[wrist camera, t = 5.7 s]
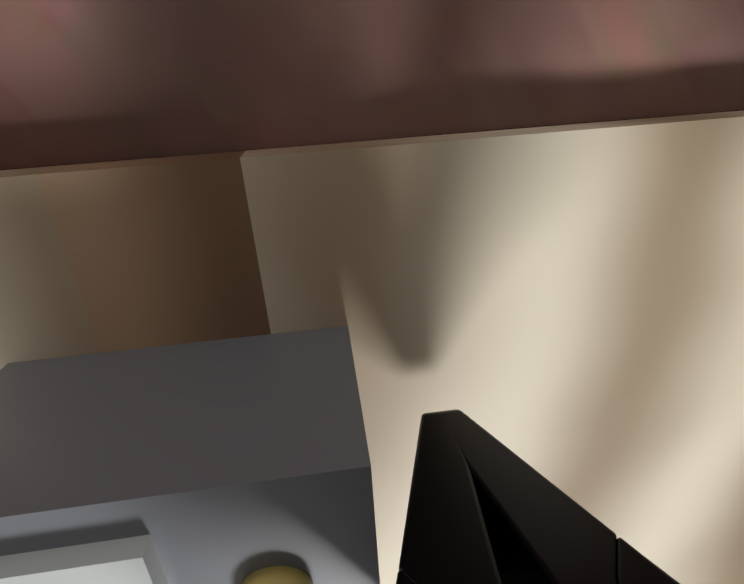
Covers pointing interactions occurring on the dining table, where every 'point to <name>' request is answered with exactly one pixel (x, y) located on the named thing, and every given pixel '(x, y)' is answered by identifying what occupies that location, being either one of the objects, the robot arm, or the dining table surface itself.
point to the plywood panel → (443, 298)
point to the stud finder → (188, 465)
